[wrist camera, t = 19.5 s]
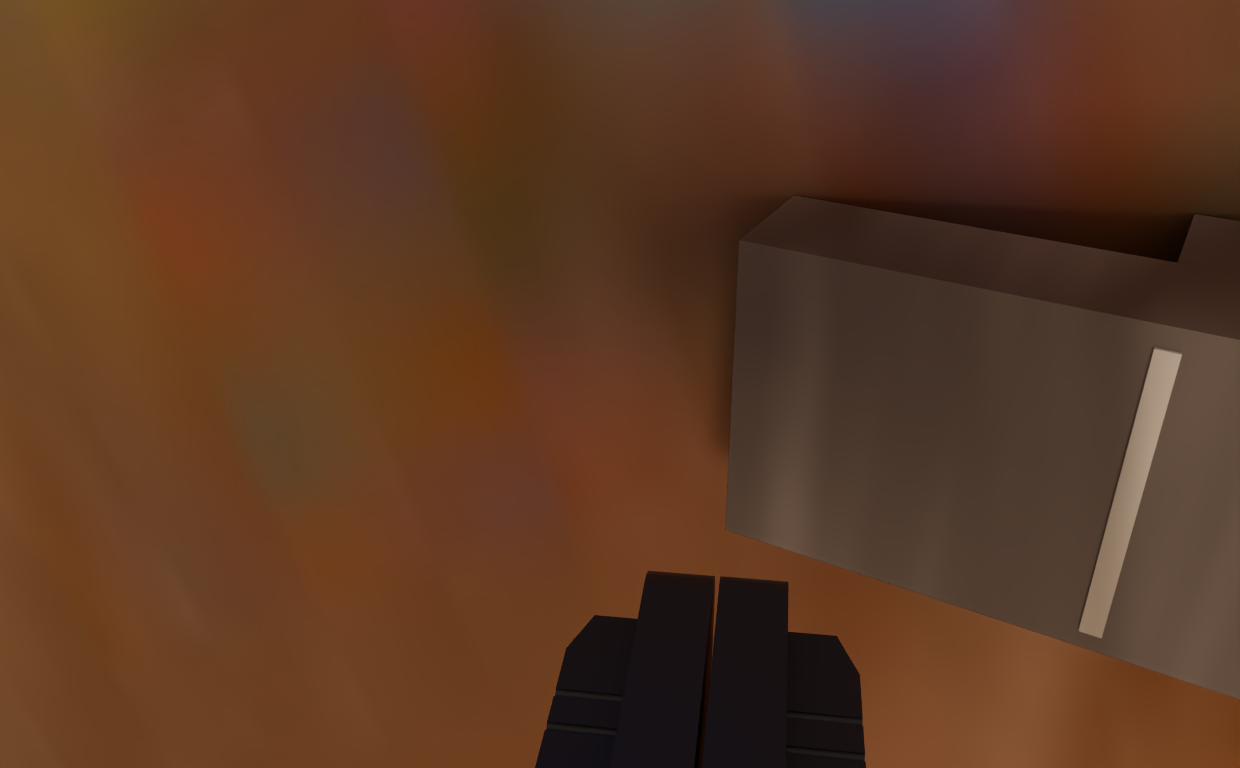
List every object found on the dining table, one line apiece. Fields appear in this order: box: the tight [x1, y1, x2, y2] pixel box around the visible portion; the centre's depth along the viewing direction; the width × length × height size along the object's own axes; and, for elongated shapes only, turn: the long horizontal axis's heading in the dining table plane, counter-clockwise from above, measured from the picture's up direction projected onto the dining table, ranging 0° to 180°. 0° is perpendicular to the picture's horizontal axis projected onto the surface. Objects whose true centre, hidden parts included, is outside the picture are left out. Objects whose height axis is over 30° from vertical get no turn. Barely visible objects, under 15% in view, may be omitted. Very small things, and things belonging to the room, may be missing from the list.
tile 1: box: [725, 195, 1240, 699], centre depth 14 cm, size 2×5×11 cm
